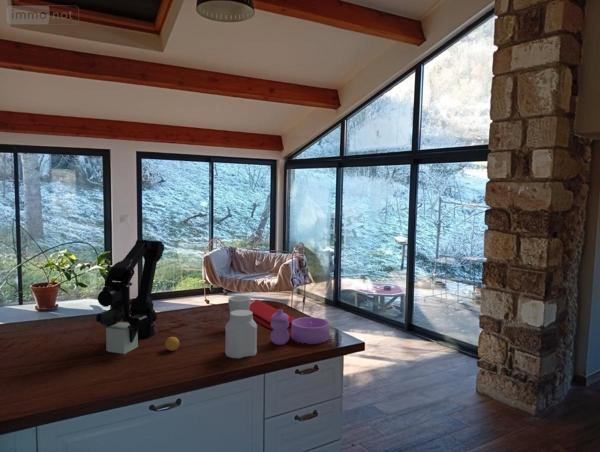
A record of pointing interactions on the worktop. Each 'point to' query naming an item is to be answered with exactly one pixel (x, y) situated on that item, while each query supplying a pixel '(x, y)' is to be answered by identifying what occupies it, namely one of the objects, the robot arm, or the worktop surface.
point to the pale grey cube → (120, 338)
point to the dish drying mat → (265, 313)
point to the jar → (241, 334)
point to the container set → (298, 329)
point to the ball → (172, 343)
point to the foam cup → (239, 303)
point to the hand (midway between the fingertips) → (122, 341)
